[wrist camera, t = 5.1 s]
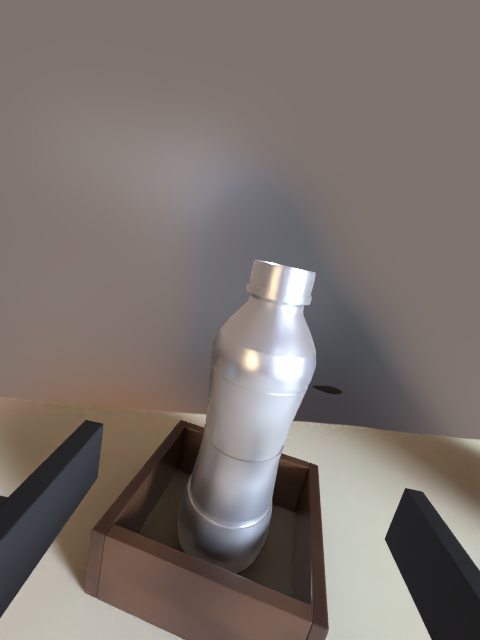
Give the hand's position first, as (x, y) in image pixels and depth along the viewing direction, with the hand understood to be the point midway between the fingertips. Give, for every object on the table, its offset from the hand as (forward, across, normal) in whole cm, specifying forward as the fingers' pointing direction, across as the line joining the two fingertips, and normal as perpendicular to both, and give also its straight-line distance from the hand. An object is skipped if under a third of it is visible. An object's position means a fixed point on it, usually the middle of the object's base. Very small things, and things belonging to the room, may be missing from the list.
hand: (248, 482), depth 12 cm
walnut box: (+6, 0, -11) cm, 13 cm away
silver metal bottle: (+6, 0, -11) cm, 13 cm away
